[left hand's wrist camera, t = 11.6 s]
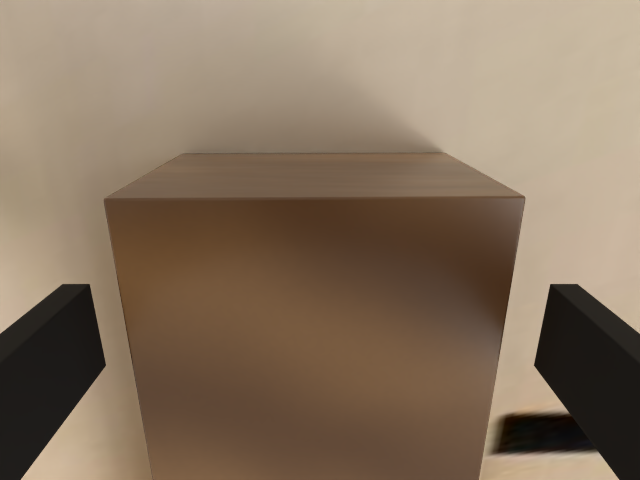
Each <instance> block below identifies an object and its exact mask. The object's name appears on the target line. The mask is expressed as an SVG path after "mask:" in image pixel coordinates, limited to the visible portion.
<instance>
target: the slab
mask: <svg viewBox="0 0 640 480" xmlns="http://www.w3.org/2000/svg"><path fill="white" fill-rule="evenodd" d="M524 204H525V196H523V195H521V194H519V193H518V192H516V191H514V190H512V189H510V188H508V187H507V186H505V185H503V184H501V183H499V182H497V181H496V180H494V179H492V178H490V177H488V176H487V175H485V174H483V173H481V172H479V171H477V170H476V169H474V168H472V167H470V166H468V165H466V164H465V163H463V162H461V161H459V160H457V159H455V158H454V157H452V156H450V155H448V154H446V153H275V154H181V155H179V156H178V157H176V158H174V159H173V160H171V161H169V162H167V163H166V164H164V165H162V166H160V167H159V168H157V169H155V170H153V171H152V172H150V173H148V174H146V175H145V176H143V177H141V178H139V179H138V180H136V181H134V182H132V183H131V184H129V185H127V186H126V187H124V188H122V189H120V190H119V191H117V192H115V193H113V194H112V195H110V196H108V197H106V198H105V199H104V205H105V211H106V216H107V222H108V228H109V233H110V239H111V245H112V250H113V256H114V262H115V267H116V273H117V279H118V284H119V290H120V296H121V301H122V307H123V313H124V318H125V324H126V330H127V335H128V341H129V347H130V352H131V358H132V364H133V369H134V375H135V381H136V386H137V392H138V398H139V403H140V409H141V415H142V420H143V426H144V432H145V437H146V443H147V449H148V454H149V460H150V466H151V471H152V477H153V480H479V475H480V469H481V463H482V457H483V451H484V445H485V439H486V433H487V427H488V421H489V415H490V409H491V403H492V397H493V391H494V385H495V379H496V372H497V366H498V360H499V354H500V348H501V342H502V336H503V330H504V324H505V318H506V312H507V306H508V300H509V294H510V288H511V282H512V276H513V270H514V264H515V258H516V252H517V246H518V240H519V234H520V228H521V222H522V216H523V210H524Z"/></svg>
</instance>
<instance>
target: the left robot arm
mask: <svg viewBox="0 0 640 480" xmlns="http://www.w3.org/2000/svg"><path fill="white" fill-rule="evenodd" d="M105 366H106V363H105V358H104V353H103V348H102V343H101V338H100V333H99V328H98V324H97V319H96V314H95V309H94V304H93V299H92V294H91V289H90V284H62V285H61V286H60V287H58V288H57V289H56V290H55V291H53V292H52V293H51V294H50V295H48V296H47V297H46V298H45V299H43V300H42V301H41V302H40V303H38V304H37V305H36V306H35V307H33V308H32V309H31V310H30V311H28V312H27V313H26V314H25V315H23V316H22V317H21V318H20V319H18V320H17V321H16V322H15V323H13V324H12V325H11V326H10V327H8V328H7V329H6V330H5V331H3V332H2V333H1V334H0V480H21V478H22V477H23V476H24V474H25V473H26V472H27V470H28V469H29V468H30V466H31V465H32V464H33V462H34V461H35V460H36V458H37V457H38V456H39V454H40V453H41V452H42V450H43V449H44V448H45V446H46V445H47V444H48V442H49V441H50V440H51V438H52V437H53V436H54V434H55V433H56V432H57V430H58V429H59V428H60V426H61V425H62V424H63V422H64V421H65V420H66V418H67V417H68V416H69V414H70V413H71V412H72V410H73V409H74V408H75V406H76V405H77V403H78V402H79V401H80V399H81V398H82V397H83V395H84V394H85V393H86V391H87V390H88V389H89V387H90V386H91V385H92V383H93V382H94V381H95V379H96V378H97V377H98V375H99V374H100V373H101V371H102V370H103V369H104V367H105ZM534 366H535V367H536V369H537V370H538V371H539V373H540V374H541V375H542V377H543V378H544V379H545V381H546V382H547V383H548V385H549V386H550V387H551V389H552V390H553V391H554V393H555V394H556V395H557V397H558V398H559V399H560V401H561V402H562V403H563V405H564V406H565V408H566V409H567V410H568V412H569V413H570V414H571V416H572V417H573V418H574V420H575V421H576V422H577V424H578V425H579V426H580V428H581V429H582V430H583V432H584V433H585V434H586V436H587V437H588V438H589V440H590V441H591V442H592V444H593V445H594V446H595V448H596V449H597V450H598V452H599V453H600V454H601V456H602V457H603V458H604V460H605V461H606V462H607V464H608V465H609V466H610V468H611V469H612V470H613V472H614V473H615V474H616V476H617V477H618V478H619V480H640V334H639V333H638V332H637V331H635V330H634V329H633V328H632V327H630V326H629V325H628V324H627V323H625V322H624V321H623V320H622V319H620V318H619V317H618V316H617V315H615V314H614V313H613V312H612V311H610V310H609V309H608V308H607V307H605V306H604V305H603V304H602V303H600V302H599V301H598V300H597V299H595V298H594V297H593V296H592V295H590V294H589V293H588V292H587V291H585V290H584V289H583V288H582V287H580V286H579V285H578V284H550V289H549V294H548V299H547V304H546V309H545V314H544V319H543V324H542V328H541V333H540V338H539V343H538V348H537V353H536V358H535V363H534Z"/></svg>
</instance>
